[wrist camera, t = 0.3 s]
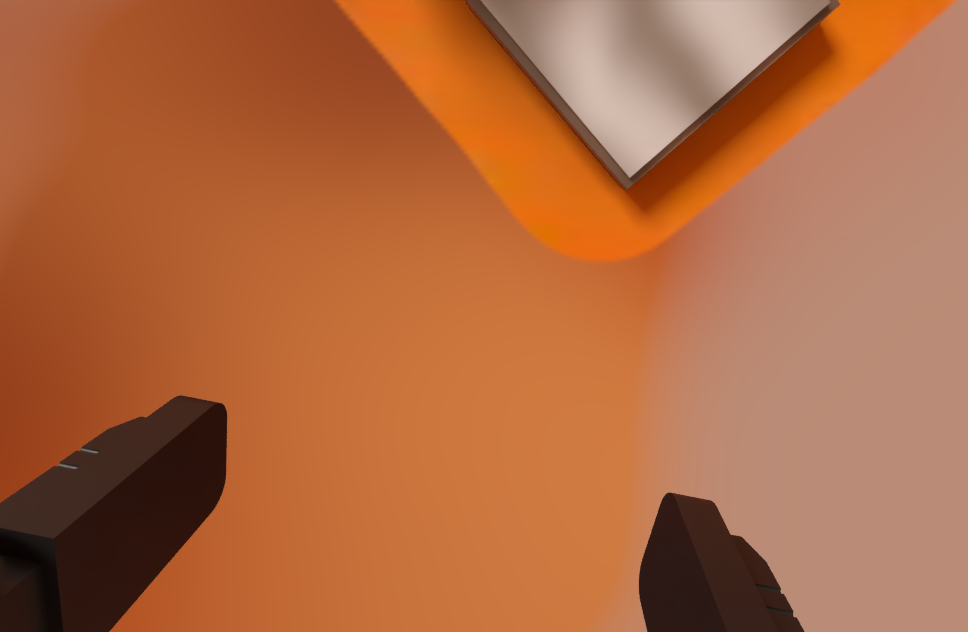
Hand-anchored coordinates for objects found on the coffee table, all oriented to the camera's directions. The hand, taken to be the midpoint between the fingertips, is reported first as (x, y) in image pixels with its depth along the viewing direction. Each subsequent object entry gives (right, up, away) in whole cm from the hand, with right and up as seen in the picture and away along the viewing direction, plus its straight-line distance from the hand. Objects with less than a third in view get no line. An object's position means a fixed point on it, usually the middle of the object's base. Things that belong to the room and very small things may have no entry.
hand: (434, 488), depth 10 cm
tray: (+10, +21, +22) cm, 32 cm away
